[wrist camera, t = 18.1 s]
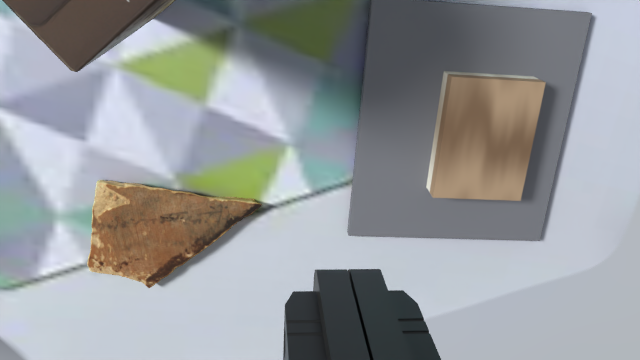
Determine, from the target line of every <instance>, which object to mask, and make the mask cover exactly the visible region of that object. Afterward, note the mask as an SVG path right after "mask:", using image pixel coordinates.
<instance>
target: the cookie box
mask: <svg viewBox="0 0 640 360" xmlns="http://www.w3.org/2000/svg"><path fill="white" fill-rule="evenodd" d="M3 1H4V2H5V4H6V5H7V6H8V7H9V8H10V9H11V10H12V11H13V12H14V13H15V14H16V15H17V16H18V17H19V18H20V19H21V20H22V21H23V22H24V23H25V24H26V25H27V26H28V27H29V28H30V29H31V30H32V31H33V32H34V33H35V35H36V36H37V37H38V38H39V39H40V40H42V41H43V42H44V43H45V44H46V45H47V46H48V48H49V49H50V50H51V51H52V52H53V53H54V54H55V55H56V56H57V57H58V58H59V59H60V60H61V61H62V62H63V63H64V64H65V65H66V66H67V67H68V68H69V69H70V70H71V71H75V72H78V71H79V70H81V69H82V68H83V67H85V66H86V65H88V64H89V63H91V62H93V61H94V60H95V59H97V58H98V57H100V56H101V55H103V54H104V53H106V52H107V51H109V50H110V49H111V48H113V47H114V46H116V45H117V44H118V43H120V42H121V41H123V40H124V39H125V38H127V37H128V36H130V35H131V34H133V33H134V32H135V31H137V30H138V29H139V28H141V27H142V26H144V25H145V24H146V23H148V22H149V21H151V20H152V19H154V18H155V17H156V16H158V15H159V14H160V13H161V12H162V11H164V10H165V9H166V8H167V7H168V6H169V5H171V4H172V3H173V2H174V1H175V0H3Z"/></svg>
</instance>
